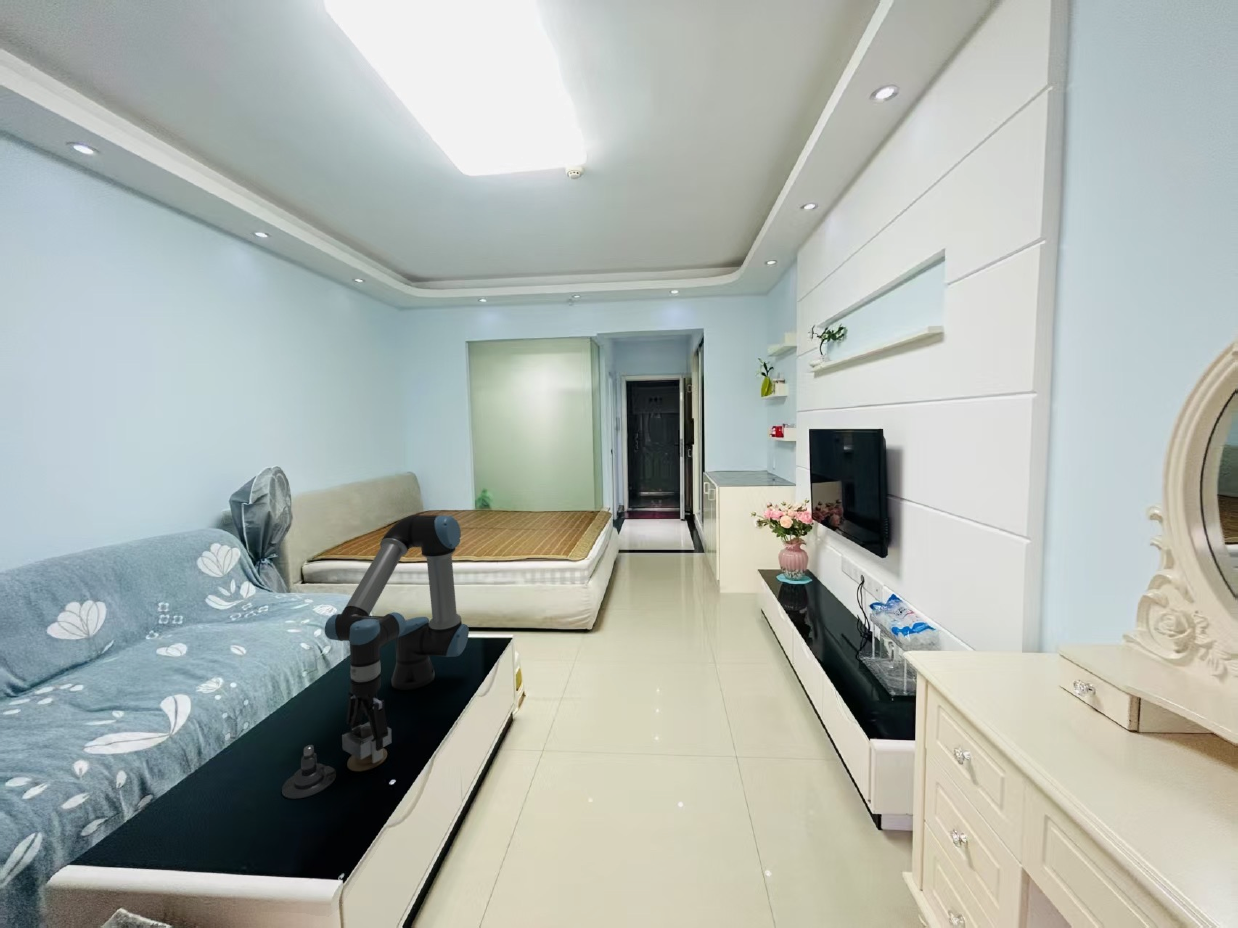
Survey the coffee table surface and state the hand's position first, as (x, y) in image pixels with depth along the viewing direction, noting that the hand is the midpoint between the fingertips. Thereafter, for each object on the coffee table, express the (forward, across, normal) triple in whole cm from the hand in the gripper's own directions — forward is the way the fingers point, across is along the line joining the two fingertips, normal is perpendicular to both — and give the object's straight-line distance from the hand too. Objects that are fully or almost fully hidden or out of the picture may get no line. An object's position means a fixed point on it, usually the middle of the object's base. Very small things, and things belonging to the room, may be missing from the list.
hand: (367, 754), depth 138 cm
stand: (+1, 0, 0) cm, 1 cm away
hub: (+1, -4, -14) cm, 14 cm away
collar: (-3, 0, 0) cm, 3 cm away
